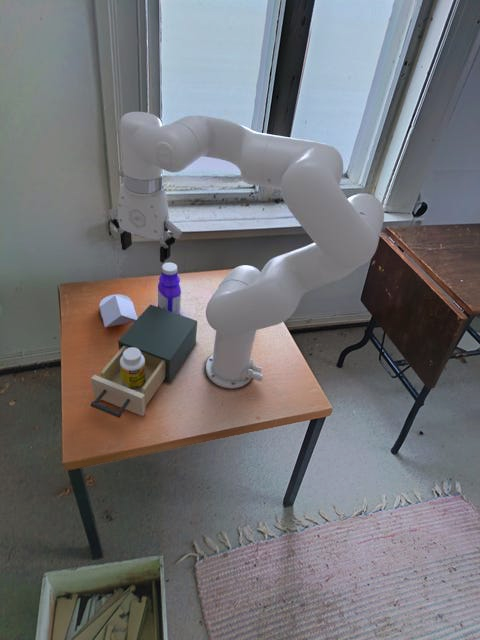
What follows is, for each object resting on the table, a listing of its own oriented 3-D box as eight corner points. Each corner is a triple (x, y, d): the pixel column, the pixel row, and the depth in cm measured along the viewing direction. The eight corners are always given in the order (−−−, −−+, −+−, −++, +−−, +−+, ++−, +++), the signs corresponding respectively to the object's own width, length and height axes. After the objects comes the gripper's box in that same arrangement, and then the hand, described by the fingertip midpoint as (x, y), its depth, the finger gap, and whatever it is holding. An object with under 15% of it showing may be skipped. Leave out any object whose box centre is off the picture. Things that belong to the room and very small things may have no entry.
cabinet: (169, 383, 102) (169, 360, 96) (120, 364, 104) (117, 340, 98) (195, 343, 113) (197, 320, 107) (150, 327, 115) (150, 304, 110)
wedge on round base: (139, 329, 114) (129, 301, 122) (138, 312, 109) (128, 283, 118) (106, 336, 111) (98, 305, 119) (103, 317, 106) (95, 287, 115)
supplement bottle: (128, 395, 95) (126, 366, 88) (117, 379, 98) (114, 350, 91) (149, 384, 98) (149, 356, 91) (138, 370, 101) (136, 341, 94)
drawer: (131, 433, 89) (130, 415, 85) (81, 412, 91) (77, 393, 87) (172, 372, 103) (172, 354, 99) (128, 355, 105) (126, 337, 101)
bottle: (183, 319, 120) (185, 271, 108) (165, 325, 117) (166, 276, 105) (172, 304, 124) (173, 256, 112) (154, 310, 121) (153, 261, 109)
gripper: (94, 176, 80) (103, 250, 91) (173, 200, 77) (172, 273, 88) (116, 164, 86) (121, 235, 97) (190, 185, 82) (187, 256, 94)
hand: (145, 253), depth 93 cm, fingers open, 9 cm apart
